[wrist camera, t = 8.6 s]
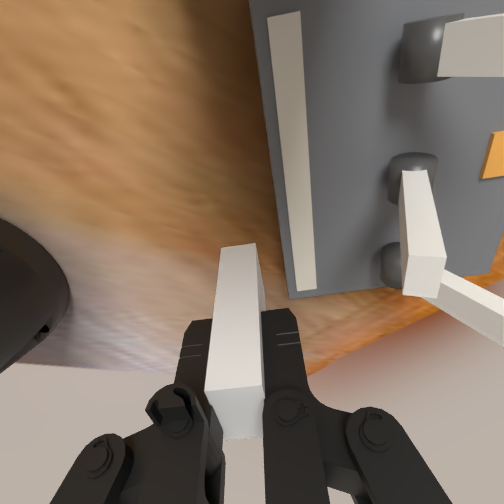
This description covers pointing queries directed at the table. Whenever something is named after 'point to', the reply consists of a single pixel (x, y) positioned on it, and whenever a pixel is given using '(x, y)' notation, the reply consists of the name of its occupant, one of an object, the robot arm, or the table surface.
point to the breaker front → (452, 48)
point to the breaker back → (453, 297)
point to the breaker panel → (371, 138)
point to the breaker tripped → (417, 223)
